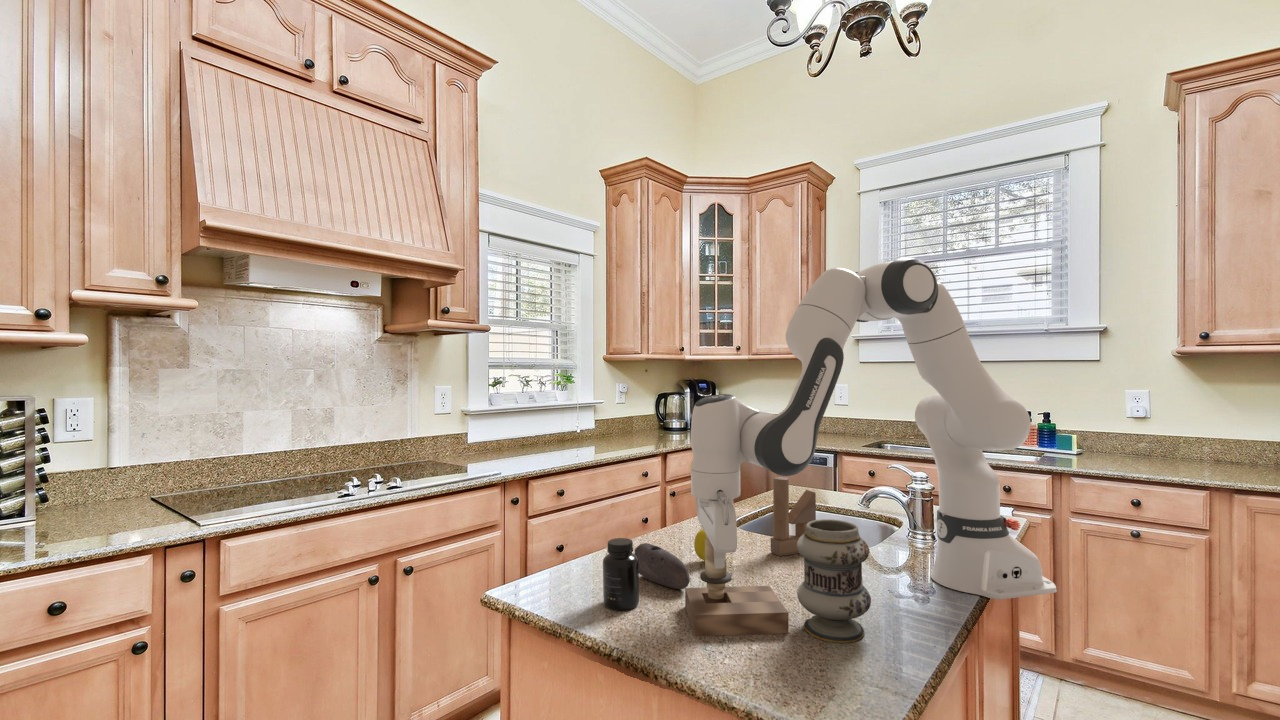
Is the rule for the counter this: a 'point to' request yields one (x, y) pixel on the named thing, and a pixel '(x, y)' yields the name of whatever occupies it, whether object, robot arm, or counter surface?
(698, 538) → the lemon
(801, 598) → the apothecary jar
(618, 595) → the supplement bottle
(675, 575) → the perforated stone tool
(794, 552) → the wooden block structure
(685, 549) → the counter surface
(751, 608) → the walnut board
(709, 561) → the maple peg
